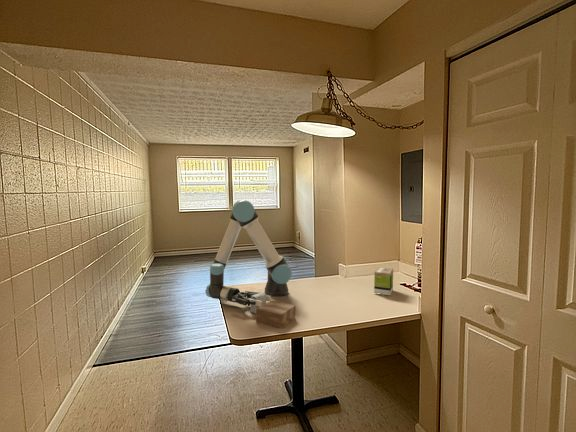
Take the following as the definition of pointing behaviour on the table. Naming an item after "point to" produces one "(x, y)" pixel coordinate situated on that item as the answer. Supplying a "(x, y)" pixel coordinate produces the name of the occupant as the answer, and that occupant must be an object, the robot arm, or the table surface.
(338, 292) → the table surface
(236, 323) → the table surface
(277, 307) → the walnut block
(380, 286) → the tea box
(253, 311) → the medicine box
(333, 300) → the table surface
